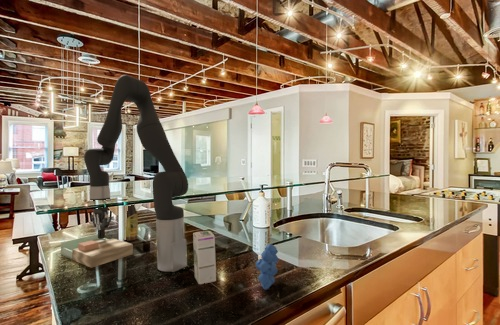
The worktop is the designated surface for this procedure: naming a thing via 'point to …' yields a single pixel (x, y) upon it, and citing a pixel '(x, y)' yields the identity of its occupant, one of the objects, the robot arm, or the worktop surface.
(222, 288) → the worktop surface
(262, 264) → the grapes
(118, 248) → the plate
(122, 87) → the robot arm
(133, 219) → the sauce bottle
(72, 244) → the box
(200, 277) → the syrup box
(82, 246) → the terracotta tile
